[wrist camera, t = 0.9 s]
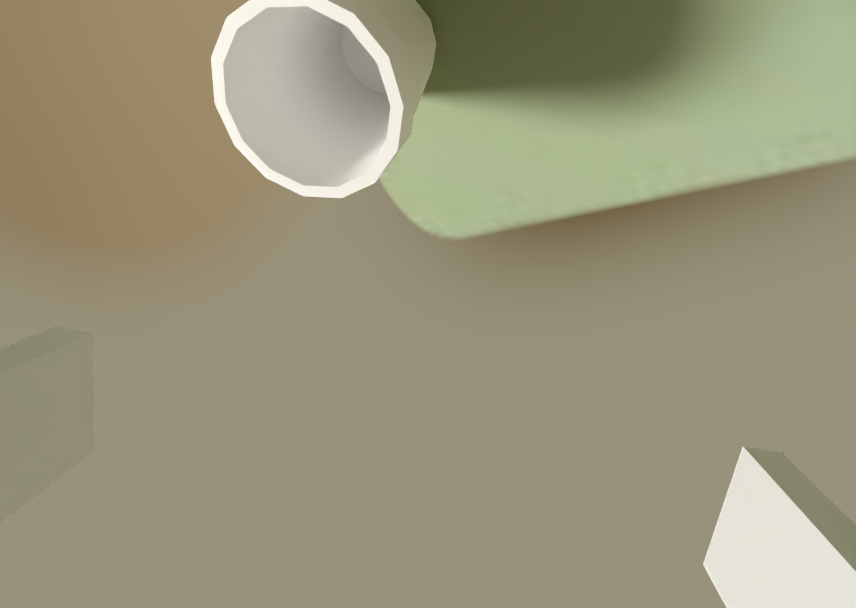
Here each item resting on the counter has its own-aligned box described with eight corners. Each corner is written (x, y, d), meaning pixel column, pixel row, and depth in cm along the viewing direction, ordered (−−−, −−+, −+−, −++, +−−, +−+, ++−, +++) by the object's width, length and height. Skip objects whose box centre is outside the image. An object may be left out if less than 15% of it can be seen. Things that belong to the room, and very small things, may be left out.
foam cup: (415, -75, 32) (328, -59, 22) (485, 78, 36) (439, 153, 26) (292, 9, 36) (172, 56, 26) (367, 138, 40) (288, 222, 30)
